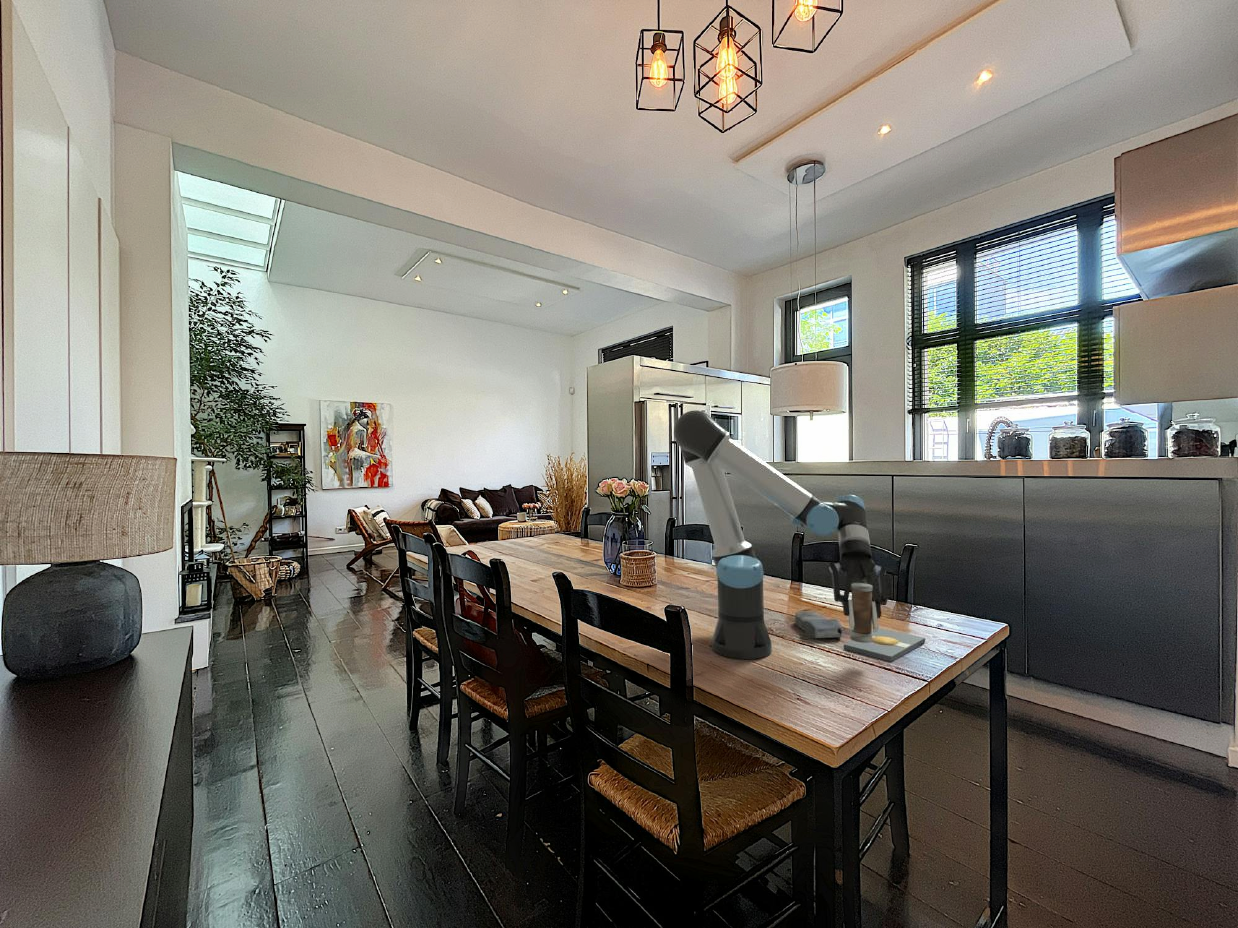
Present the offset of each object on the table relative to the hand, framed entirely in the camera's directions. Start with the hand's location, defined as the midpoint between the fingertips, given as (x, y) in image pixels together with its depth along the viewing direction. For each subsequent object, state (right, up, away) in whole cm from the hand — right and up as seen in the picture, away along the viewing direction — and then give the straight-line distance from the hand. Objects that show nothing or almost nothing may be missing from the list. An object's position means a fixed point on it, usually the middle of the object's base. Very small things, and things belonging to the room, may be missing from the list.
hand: (863, 628), depth 124 cm
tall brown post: (+1, -4, +4) cm, 5 cm away
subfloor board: (+13, -9, +16) cm, 22 cm away
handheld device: (-1, -10, +30) cm, 32 cm away
